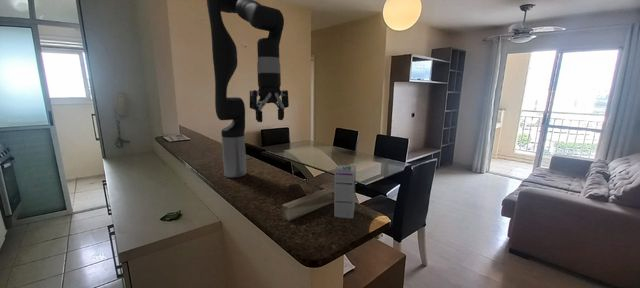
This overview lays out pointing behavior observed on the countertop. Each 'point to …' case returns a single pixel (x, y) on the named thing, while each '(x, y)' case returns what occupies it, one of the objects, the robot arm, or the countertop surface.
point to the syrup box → (344, 191)
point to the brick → (295, 192)
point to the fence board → (306, 204)
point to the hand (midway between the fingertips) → (270, 120)
